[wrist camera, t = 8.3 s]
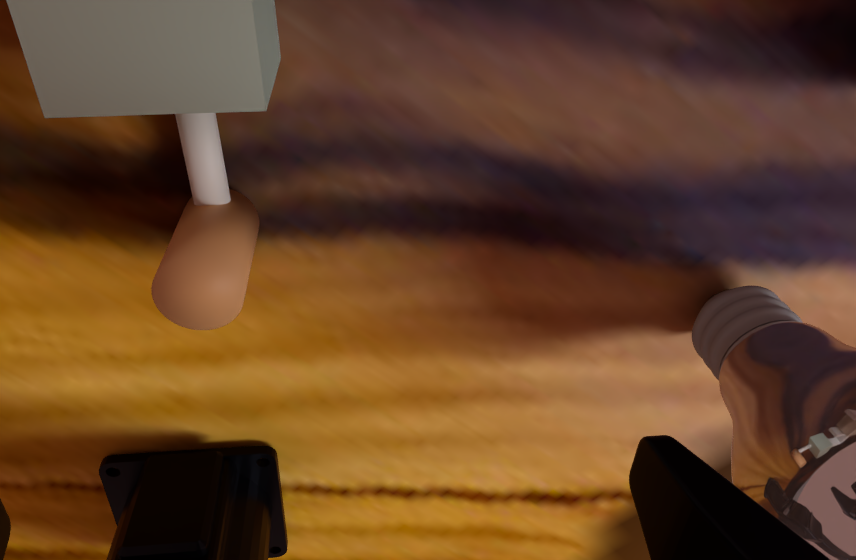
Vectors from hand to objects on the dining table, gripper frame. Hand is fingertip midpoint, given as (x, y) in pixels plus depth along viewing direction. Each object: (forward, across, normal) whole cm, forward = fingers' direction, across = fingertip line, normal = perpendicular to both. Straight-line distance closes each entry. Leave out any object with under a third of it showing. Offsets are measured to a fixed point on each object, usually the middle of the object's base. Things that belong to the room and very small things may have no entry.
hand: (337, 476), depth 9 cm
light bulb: (+12, -14, +6) cm, 20 cm away
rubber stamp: (+12, +4, -2) cm, 13 cm away
